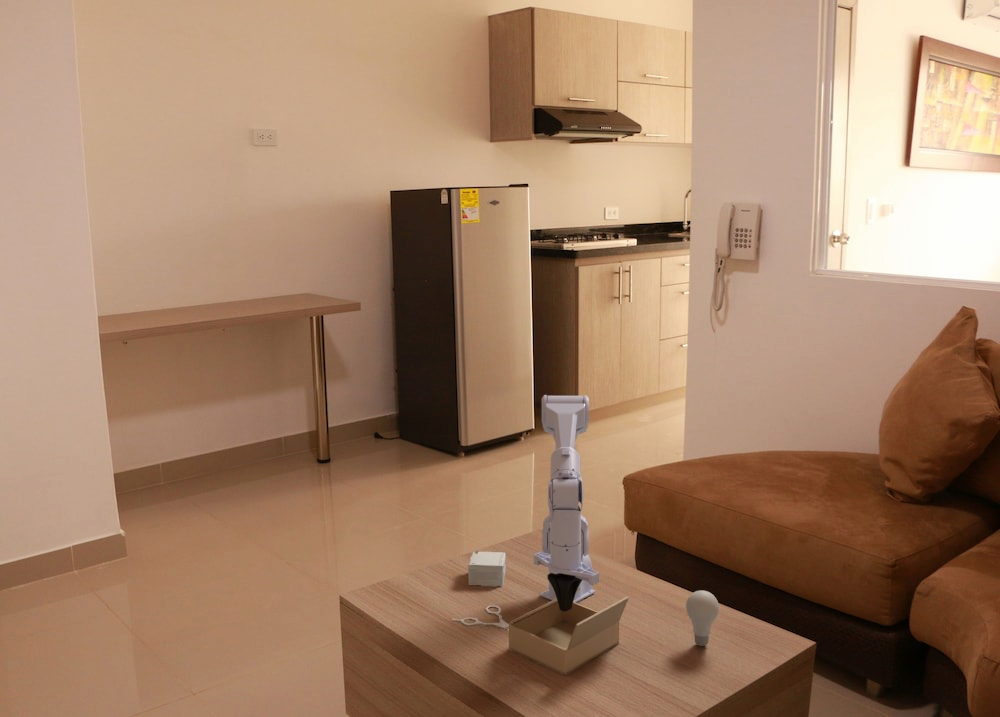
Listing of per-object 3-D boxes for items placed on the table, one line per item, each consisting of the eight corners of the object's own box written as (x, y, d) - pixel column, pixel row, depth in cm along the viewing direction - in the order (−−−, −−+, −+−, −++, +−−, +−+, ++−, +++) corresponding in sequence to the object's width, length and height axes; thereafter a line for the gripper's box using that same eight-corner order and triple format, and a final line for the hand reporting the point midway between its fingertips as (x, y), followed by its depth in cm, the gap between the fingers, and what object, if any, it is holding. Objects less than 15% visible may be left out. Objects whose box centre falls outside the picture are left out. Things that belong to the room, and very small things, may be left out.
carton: (563, 620, 182) (563, 597, 181) (618, 643, 173) (619, 619, 172) (508, 649, 171) (508, 625, 170) (565, 676, 161) (565, 650, 160)
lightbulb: (678, 642, 173) (679, 588, 171) (704, 635, 175) (706, 582, 173) (697, 656, 167) (699, 601, 165) (724, 649, 170) (726, 595, 168)
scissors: (487, 601, 191) (559, 631, 177) (487, 605, 191) (559, 635, 177) (450, 619, 183) (523, 651, 169) (451, 622, 183) (523, 655, 170)
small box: (503, 587, 198) (502, 565, 197) (467, 586, 199) (467, 564, 198) (506, 572, 206) (506, 551, 205) (472, 571, 207) (472, 550, 206)
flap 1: (561, 598, 181) (560, 596, 181) (580, 589, 177) (579, 587, 177) (510, 624, 170) (509, 622, 171) (529, 615, 166) (528, 613, 167)
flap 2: (627, 596, 169) (628, 597, 169) (617, 620, 171) (619, 621, 171) (576, 623, 158) (578, 625, 158) (566, 649, 161) (568, 650, 161)
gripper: (522, 537, 170) (523, 604, 172) (582, 557, 160) (582, 628, 162) (547, 527, 175) (547, 592, 177) (606, 546, 165) (606, 615, 167)
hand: (565, 609), depth 170 cm, fingers closed
